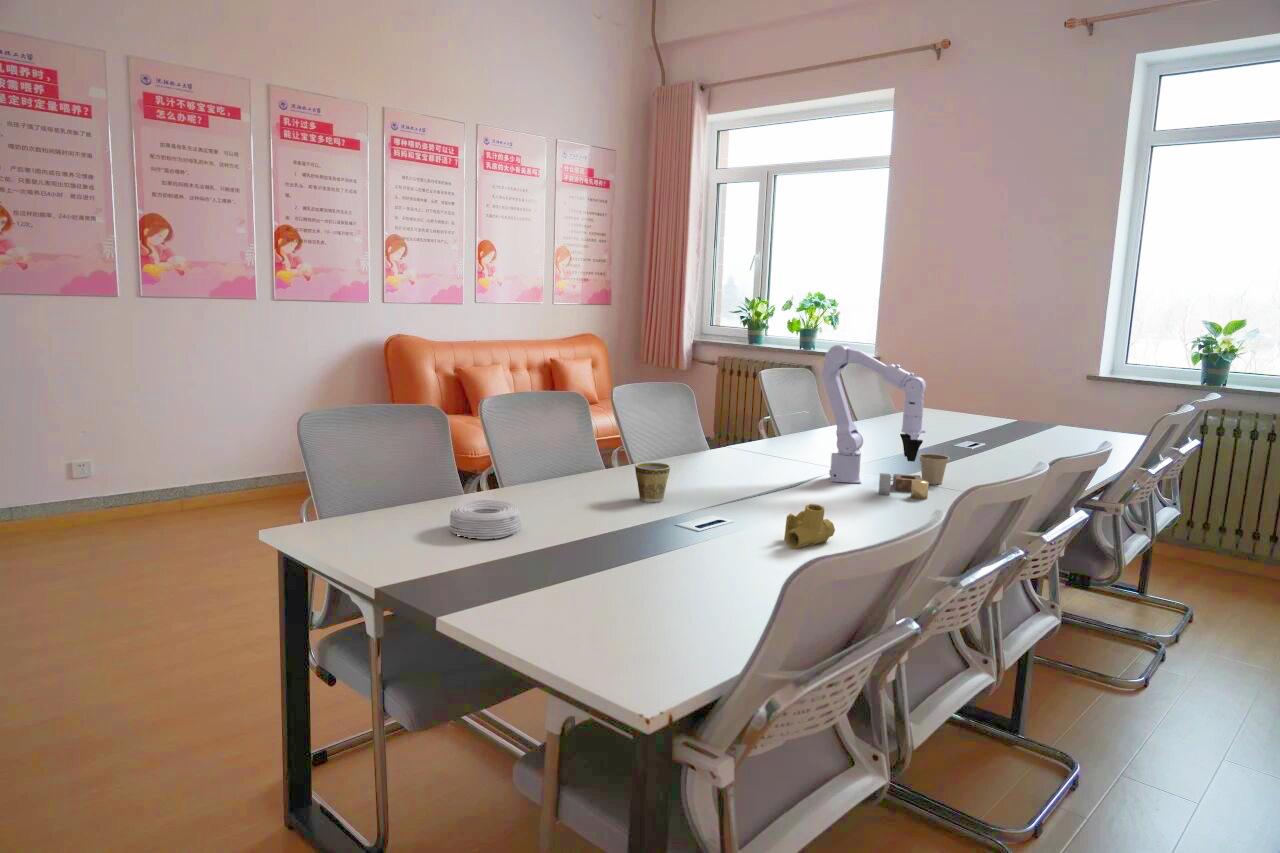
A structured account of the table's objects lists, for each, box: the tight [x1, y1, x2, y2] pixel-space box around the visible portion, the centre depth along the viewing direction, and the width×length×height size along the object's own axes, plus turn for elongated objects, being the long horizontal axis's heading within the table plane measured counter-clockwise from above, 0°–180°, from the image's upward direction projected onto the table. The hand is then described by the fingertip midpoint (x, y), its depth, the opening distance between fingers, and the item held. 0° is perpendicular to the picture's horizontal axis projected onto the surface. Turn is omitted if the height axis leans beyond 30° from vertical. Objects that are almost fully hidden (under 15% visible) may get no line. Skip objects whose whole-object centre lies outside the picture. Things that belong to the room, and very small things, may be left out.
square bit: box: [878, 472, 892, 496], centre depth 260 cm, size 3×3×6 cm
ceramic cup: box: [634, 462, 671, 503], centre depth 246 cm, size 13×10×10 cm
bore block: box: [892, 473, 922, 492], centre depth 268 cm, size 8×8×4 cm
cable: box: [449, 499, 522, 540], centre depth 210 cm, size 18×18×6 cm
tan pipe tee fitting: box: [783, 503, 836, 550], centre depth 206 cm, size 13×10×10 cm
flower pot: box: [918, 453, 950, 486], centre depth 277 cm, size 9×9×9 cm
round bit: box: [910, 480, 930, 501], centre depth 256 cm, size 5×5×5 cm
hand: (909, 458), depth 267 cm, fingers open, 7 cm apart
